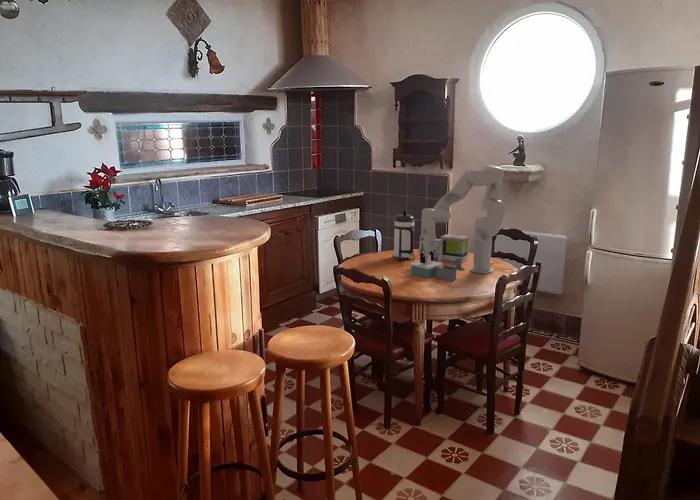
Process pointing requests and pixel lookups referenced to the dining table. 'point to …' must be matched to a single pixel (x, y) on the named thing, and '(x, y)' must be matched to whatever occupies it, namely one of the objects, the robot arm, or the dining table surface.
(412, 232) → the coffee press
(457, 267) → the bolt
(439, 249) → the candy bar box
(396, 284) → the dining table surface
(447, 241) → the tea box
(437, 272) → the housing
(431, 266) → the lid
